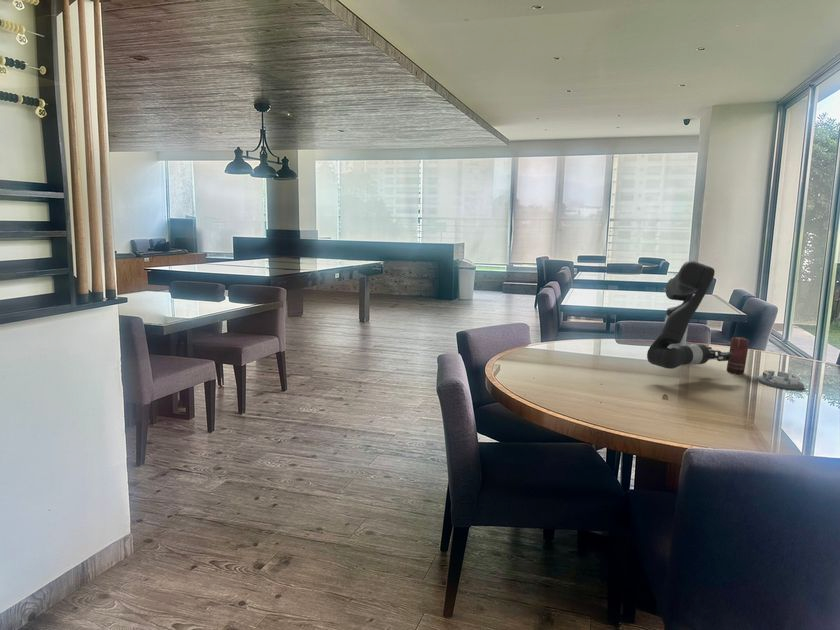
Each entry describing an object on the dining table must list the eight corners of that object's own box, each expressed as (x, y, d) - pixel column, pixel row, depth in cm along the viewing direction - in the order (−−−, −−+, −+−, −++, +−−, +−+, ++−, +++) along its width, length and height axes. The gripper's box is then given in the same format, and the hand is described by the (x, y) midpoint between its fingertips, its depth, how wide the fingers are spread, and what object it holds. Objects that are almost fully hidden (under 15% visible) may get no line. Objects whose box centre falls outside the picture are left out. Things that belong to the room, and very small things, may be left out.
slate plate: (765, 386, 207) (765, 384, 207) (750, 376, 222) (751, 373, 222) (811, 391, 205) (811, 389, 204) (793, 380, 219) (793, 378, 219)
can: (726, 372, 225) (731, 337, 222) (726, 369, 230) (731, 335, 228) (744, 375, 222) (749, 340, 220) (743, 372, 228) (749, 337, 225)
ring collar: (769, 383, 209) (770, 376, 208) (758, 375, 220) (759, 369, 219) (803, 387, 206) (804, 380, 206) (790, 378, 217) (791, 372, 217)
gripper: (712, 348, 205) (740, 346, 212) (677, 340, 217) (705, 338, 225) (709, 369, 206) (736, 366, 214) (674, 359, 218) (702, 357, 226)
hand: (720, 352), depth 219 cm, fingers open, 8 cm apart
